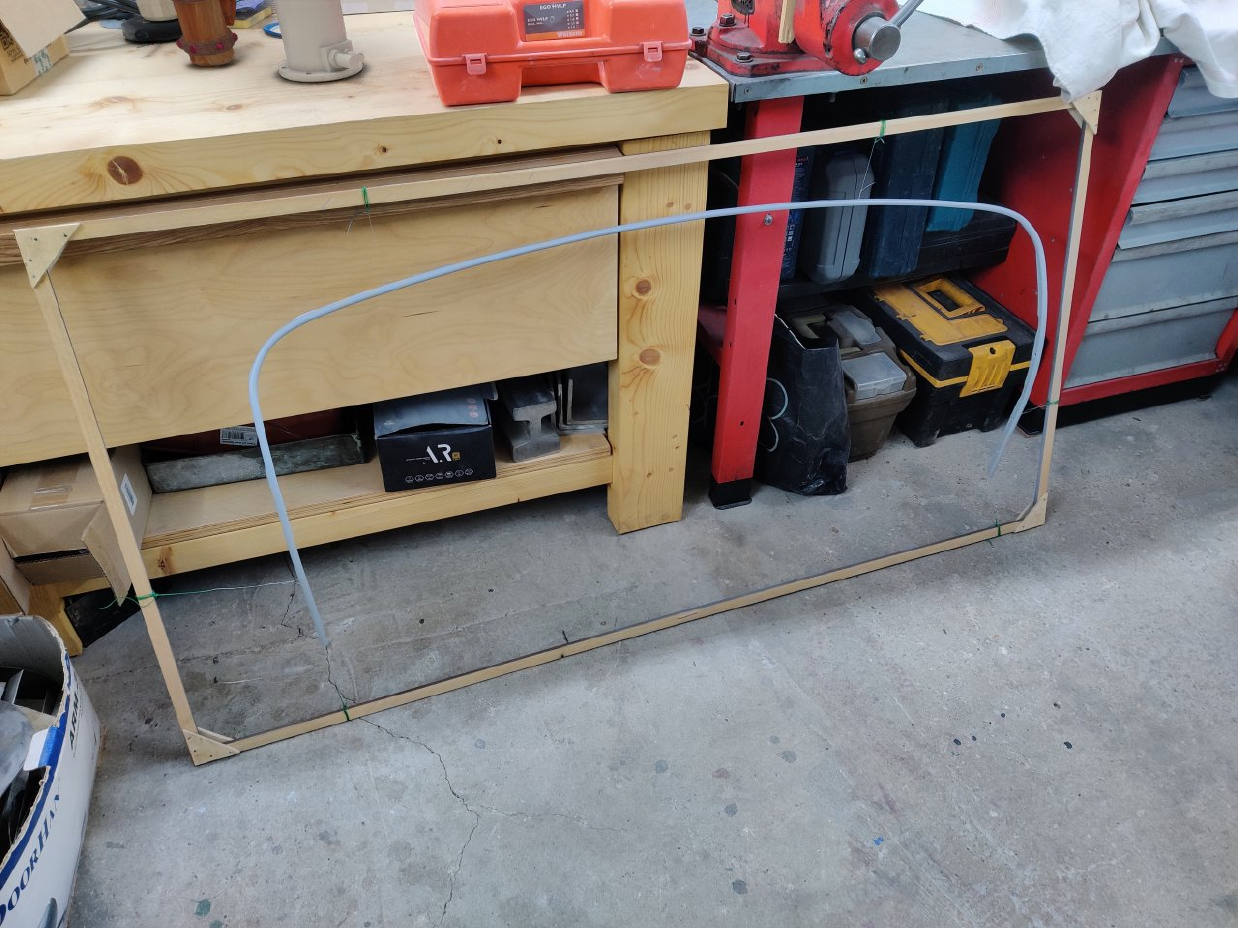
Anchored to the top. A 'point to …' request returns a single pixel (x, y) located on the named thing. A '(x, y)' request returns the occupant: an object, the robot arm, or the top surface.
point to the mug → (207, 30)
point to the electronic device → (151, 29)
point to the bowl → (157, 10)
